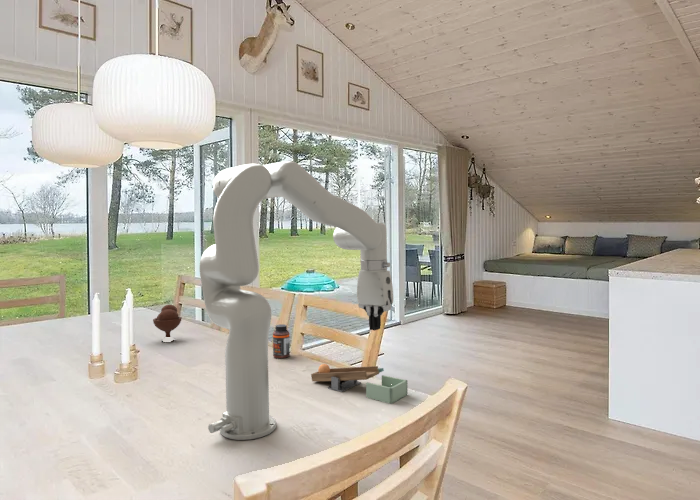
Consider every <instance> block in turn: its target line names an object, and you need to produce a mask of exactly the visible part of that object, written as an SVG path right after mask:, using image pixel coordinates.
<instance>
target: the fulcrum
mask: <svg viewBox="0 0 700 500" xmlns="http://www.w3.org/2000/svg"><path fill="white" fill-rule="evenodd" d="M330 382H331V385H330V386H327V390H332V391H335V392H340V393H343V392H345V391H347V389H348V390H350V389H352V388H353V386H354V387H356V386H358V385H361V384H362V381H360V380H344V381H340V378H339V377H335V376H333V377H331V381H330ZM360 383H361V384H360ZM357 384H358V385H357ZM355 385H356V386H355ZM351 387H352V388H351ZM349 388H350V389H349Z"/></svg>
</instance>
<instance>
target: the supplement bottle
mask: <svg viewBox="0 0 700 500" xmlns="http://www.w3.org/2000/svg"><path fill="white" fill-rule="evenodd" d="M287 328H288V327H287V325H286V324H283V323H282V324H276V325H275V330H274V331H273V333H272V355H273V358H276V359H285V358H286V357H287V358H289V357H290V356H291V354H290V353H291V352H290V351H291V350H290V349H291V348H290V346H291V345H290V343H291V342H290V340H291V338H290V336H291V335H290V331H289V330H288V329H287Z"/></svg>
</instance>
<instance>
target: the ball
mask: <svg viewBox="0 0 700 500" xmlns="http://www.w3.org/2000/svg"><path fill="white" fill-rule="evenodd" d="M330 369H331V368H330V366H329V365H328V364H326V363H322V364H320V365H319V366H318V369H317V370H318V371H317V372H319V373H329V372H330Z"/></svg>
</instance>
